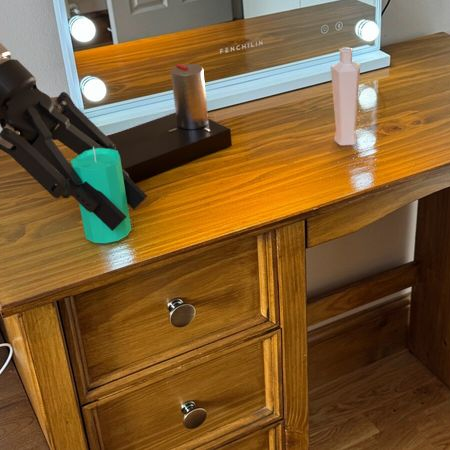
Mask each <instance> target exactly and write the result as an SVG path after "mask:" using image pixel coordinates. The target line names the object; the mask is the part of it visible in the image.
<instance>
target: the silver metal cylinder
mask: <svg viewBox="0 0 450 450" xmlns="http://www.w3.org/2000/svg"><path fill="white" fill-rule="evenodd" d="M170 78H171V85H172V93H173V99H174V100H173V102H174V109H175V112H176V118H177V125H178V127H180V128H182V129H199V128H202V127H204V126H206V125H207V124H208V119H209V118H208V117H209V114H208V113H209V111H208V104H207V94H206V85H205V75H204V68H203V66H202V65H199V64H195V63H194V64H192V63H188V64H187V63H185V64H181V63H177V64H175V66H174V67H172V68H171V69H170Z"/></svg>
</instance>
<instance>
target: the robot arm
mask: <svg viewBox="0 0 450 450" xmlns="http://www.w3.org/2000/svg"><path fill="white" fill-rule="evenodd" d="M73 101H74V100H73V99H72V98H71V97H70V95H69V94H68V93H67V92H65V91H62V92H60V94H59V95H57V96H53V97H52V96H51V97H50V95H48V94H47V93H45V92H44V91H42V90H40V89H39V88H38V86H37V79H36V77H35V76H34V74H32V72H30V71H29V70H28V69H27V68H26V67H25V66H24V65H23V64H22V62H20V61H19V60H18V59H14V58H12V53H11V52H10V50H9V49H7V48H6V46H4V45H3V44H2V43H1V42H0V128H1V129H2V130H1V131H0V150H1V151H2V152H4V153H6V154H7V155H9V156H10V157H11V158H12V159H13V160H14V161H15V162H16V163H18V165H20V166H21V167H22V168H23V169H24V171H26V172H27V173H28V174H29V175H30V176H31V177H32V178H33V179H34V180H35V181H36V182H37V183H38V184H39V185H40V186H41V187H42V188H43V189H44V190H45V191H47V192H48V194H49V195H51V197H53V198H54V199H59V198H63V199H65V200H66V199H69V198H70V197H72V198H74V200H76V202H78V204H79V203H80V204H81V205H82V206H83V207H84V208H85V209H86V210H87V211H89V212H93V213H94V214H95V215H96V216H97V217H98V218H99V219H100V220H101V221H102V222H103V223H104V224H106V225H107V226H108V227H109V228H110V229H111V230H112V231H113V230H114V229H115V228H116V227H117V226H118V225H119V224H120V223H121V222H122V221H123V220H124V219H125V218H126V217H127V216H125V215H124V214H123V213H122V212H121V211H120V210H119V209H118V208H117V207H116V206H115V205H114V204H113V203H112V202H111V201H110V200H109V199H108V198H107V197H106V196H105V195H104V194H103V193H102V192H101V191H98V190H96V189H95V188H94V187H92V186H91V185H90V184H89V183H88V182H86V181H85V182H84V183H83V184H82V180H81V178H80V177H79V176H78V174H77V173H76V172H75V170H74V169H73V167H72V165H71V162H69V161H68V159H67V158H66V157H65V155H64V154H63V152H62V151H61V149H60V148H59V147H58V145H57V144H56V143H55V141H58V142H60V143H61V144H63V145H64V146H65V147H66V148H68V149H70V150H71V151H72V152H74V153H76V154H77V156H79V155H80V154H82V153H83V152H84V151H86V150H91V149H93V147H94V149H95V148H103V147H104V146H105V147H104V148H106V149H113V150H115V149H116V146H115V144H114V143H113V142H112V141H111V140H110V139H109V138H108V137H107V136H108V135H106V134H105V133H104V132H103V131H102V130H101V129H100V128H99V127H98V126H97V125H95V123H94V122H92V120H90V118H89V117H87V115H85V113H83V111H81V110H80V108H78V106H77V105H76V104H75V103H74V102H73ZM122 173H123V179H124V186H125V192H126V198H127V205H128V207H130V208H131V209H132V211H135V210H136V209H137V208H138V207H139V205H141V204H142V203H143V202H144V201H145V200H146V199H147V198H148V195H147V194H146V193H145V192H144V191H143V189H141V188H140V187H139V186H138V185H137V183H136V184H135V183H134V182H133V181H132V180H131V179H130V178H129V175H128V174H127V173H126V172H125V171H124V170H123V169H122Z"/></svg>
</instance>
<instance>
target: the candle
mask: <svg viewBox="0 0 450 450" xmlns="http://www.w3.org/2000/svg"><path fill="white" fill-rule="evenodd" d="M70 165H71V166H72V167H73V169H74V170H75V172H76V173H77V174H78V176H79V177H80V178H81V180H82V184H83V183H84V182H85V181H86V182H88V183H89V184H90V185H91V186H92V187H94V188H95V189H96V190H98V191H101V192H102V193H103V194H104V195H105V196H106V197H107V198H108V199H109V200H110V201H111V202H112V203H113V204H114V205H115V206H116V207H117V208H118V209H119V210H120V211H121V212H122V213H123V214H124V215H125V216H127V217H126V218H125V219H124V220H123V221H122V222H121V223H120V224H119V225H118V226H117V227H116V228H115V229H114V230H113V231H112V230H111V229H110V228H109V227H108V226H107V225H106V224H104V223H103V222H102V221H101V220H100V219H99V218H98V217H97V216H96V215H95V214H94V213H93V212H89V211H87V210H86V209H85V208H84V207H83V206H82V205H81V204H80V203H79V202H78V207H79V212H80V217H81V222H82V227H83V228H82V229H83V232H84V235H85V239H86V240H87V241H90V242H92V243H94V244H95V243H96V244H110V243H114V242H118V241H120V240H122V239H124V238H126V237H127V236H128V235H129V234H130V232H131V231H132V226H131V225H132V224H131V218H130V212H129V205H128V204H127V198H126V192H125V186H124V179H123V173H122V166H121V160H120V156H119V153H118V151H117V150H113V149H106V148H95V149H94V147H93V149H91V150H86V151H84V152H83V153H82V154H80V155H77V156H75V157H74V158H71V159H70Z"/></svg>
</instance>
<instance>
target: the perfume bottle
mask: <svg viewBox="0 0 450 450" xmlns="http://www.w3.org/2000/svg"><path fill="white" fill-rule="evenodd" d="M353 50H354V48H352V47H347V46H345V47H341V48H339V49H338V51H339V61H338V62H336V63H335V64H333V65H331V66H330V73H331V74H330V75H331V76H330V77H331V86H332V88H331V89H332V98H333V100H332V101H333V110H334V111H333V112H334V122H335V123H334V124H335V133H334V138H333V141H334V142H335V143H337V144H338V145H339V146H353V145H354V146H355V145H357V142H358V135H357V134H358V133H357V116H358V115H357V114H358V103H359V102H358V101H359V90H360V88H359V87H360V76H361V75H360V74H361V64H360V63H357V62H355V61H353Z"/></svg>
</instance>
